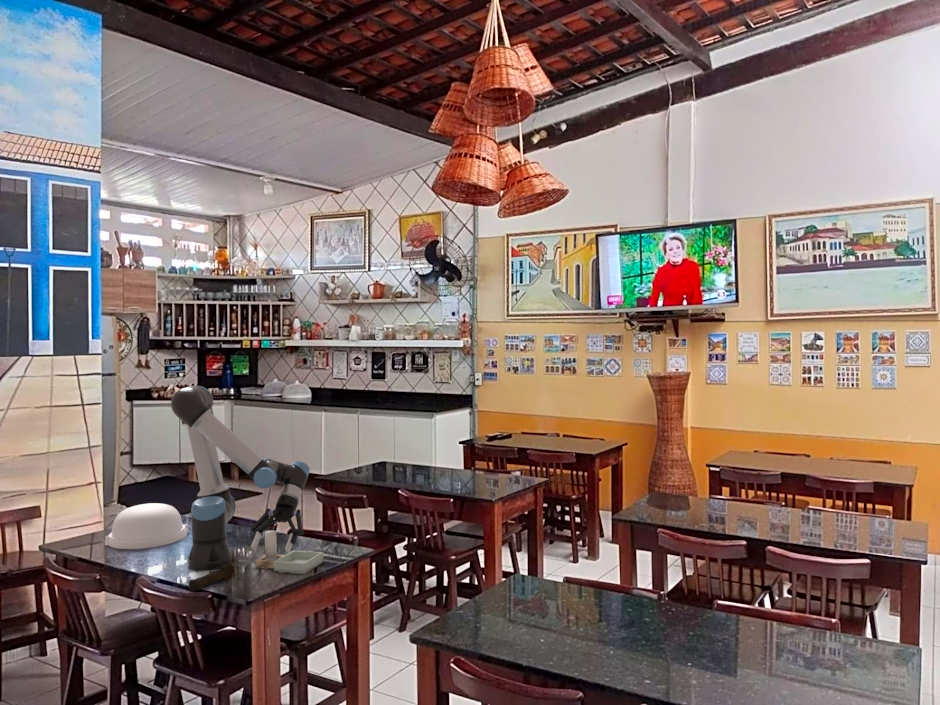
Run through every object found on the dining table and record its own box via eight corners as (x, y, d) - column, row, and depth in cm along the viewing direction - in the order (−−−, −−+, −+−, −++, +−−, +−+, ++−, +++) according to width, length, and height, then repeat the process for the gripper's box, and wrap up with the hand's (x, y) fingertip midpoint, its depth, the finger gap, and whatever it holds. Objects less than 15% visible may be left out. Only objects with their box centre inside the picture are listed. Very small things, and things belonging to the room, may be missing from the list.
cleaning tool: (263, 566, 266) (262, 533, 266) (269, 563, 270) (268, 530, 270) (273, 566, 265) (272, 533, 265) (279, 563, 269) (278, 530, 269)
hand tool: (197, 593, 240) (196, 578, 240) (188, 591, 242) (187, 577, 242) (240, 575, 257) (239, 562, 257) (231, 574, 259) (231, 561, 259)
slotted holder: (255, 567, 265) (255, 560, 265) (267, 561, 273) (267, 554, 273) (275, 569, 263) (275, 561, 263) (286, 562, 271) (286, 555, 270)
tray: (273, 571, 260) (273, 561, 260) (293, 559, 273) (293, 550, 273) (305, 573, 257) (304, 563, 256) (323, 561, 270) (323, 552, 270)
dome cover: (181, 525, 329) (180, 494, 329) (196, 540, 304) (195, 506, 304) (101, 537, 312) (99, 504, 312) (109, 554, 287) (108, 518, 287)
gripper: (322, 505, 280) (305, 557, 266) (263, 503, 286) (243, 553, 272) (315, 494, 275) (297, 546, 260) (255, 492, 281) (234, 543, 267)
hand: (269, 550), depth 266 cm, fingers open, 13 cm apart
